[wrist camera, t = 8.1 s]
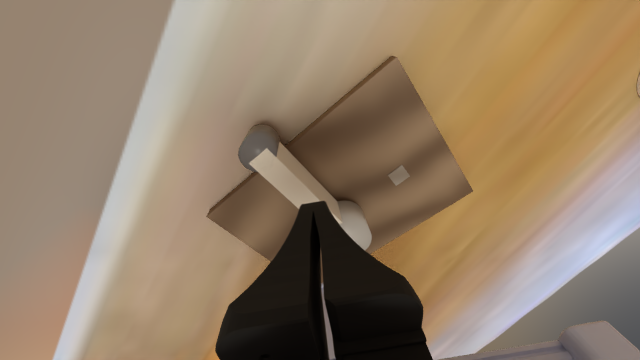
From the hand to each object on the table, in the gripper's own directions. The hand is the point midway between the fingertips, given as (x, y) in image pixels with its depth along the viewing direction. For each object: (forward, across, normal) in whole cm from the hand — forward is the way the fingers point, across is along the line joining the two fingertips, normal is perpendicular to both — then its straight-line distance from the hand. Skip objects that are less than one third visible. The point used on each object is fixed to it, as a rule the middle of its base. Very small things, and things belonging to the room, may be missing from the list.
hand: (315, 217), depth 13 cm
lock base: (+10, -2, +6) cm, 12 cm away
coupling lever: (+9, 0, +3) cm, 9 cm away
